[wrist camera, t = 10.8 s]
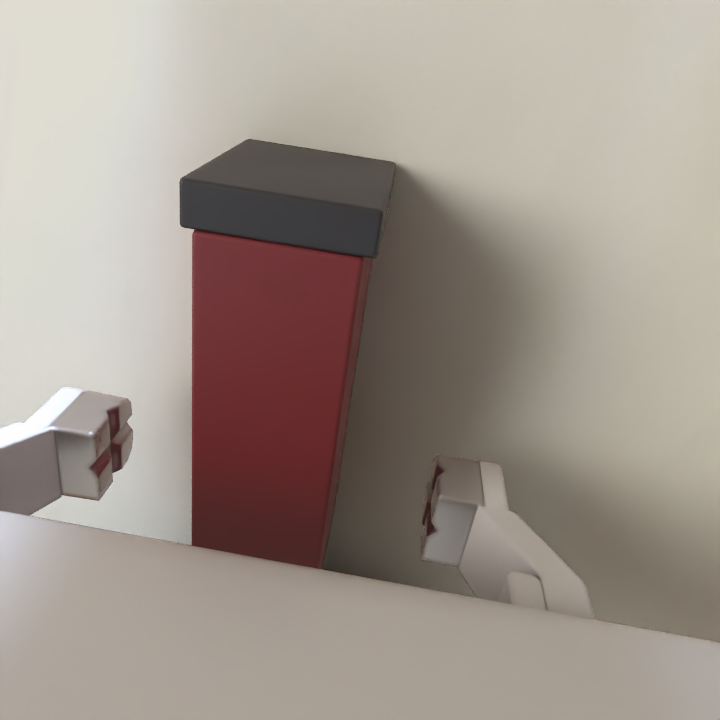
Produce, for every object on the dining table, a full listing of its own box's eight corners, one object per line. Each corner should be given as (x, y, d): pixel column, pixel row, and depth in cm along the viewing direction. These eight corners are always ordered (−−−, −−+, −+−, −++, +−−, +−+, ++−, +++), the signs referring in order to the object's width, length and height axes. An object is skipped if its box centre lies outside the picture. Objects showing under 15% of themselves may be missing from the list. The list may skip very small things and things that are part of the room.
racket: (42, 104, 13) (-102, 132, 9) (606, 195, 13) (673, 258, 9) (112, 740, 24) (58, 859, 21) (408, 795, 24) (404, 925, 21)
